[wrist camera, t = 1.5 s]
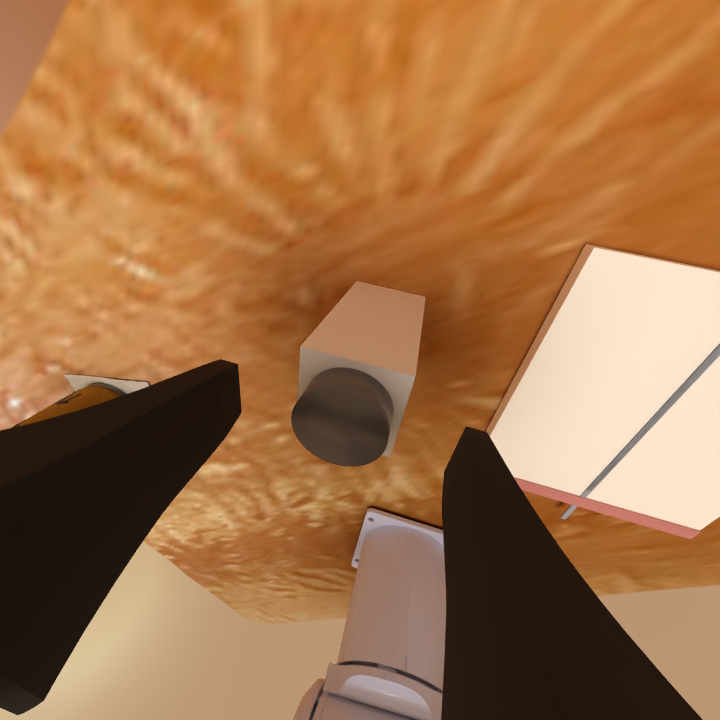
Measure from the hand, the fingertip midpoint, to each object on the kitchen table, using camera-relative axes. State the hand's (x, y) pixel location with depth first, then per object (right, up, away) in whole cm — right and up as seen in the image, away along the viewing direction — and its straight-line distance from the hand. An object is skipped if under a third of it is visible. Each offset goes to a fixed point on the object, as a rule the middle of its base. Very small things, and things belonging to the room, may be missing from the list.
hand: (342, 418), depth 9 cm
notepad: (+15, -1, +6) cm, 16 cm away
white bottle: (+2, +4, +7) cm, 8 cm away
